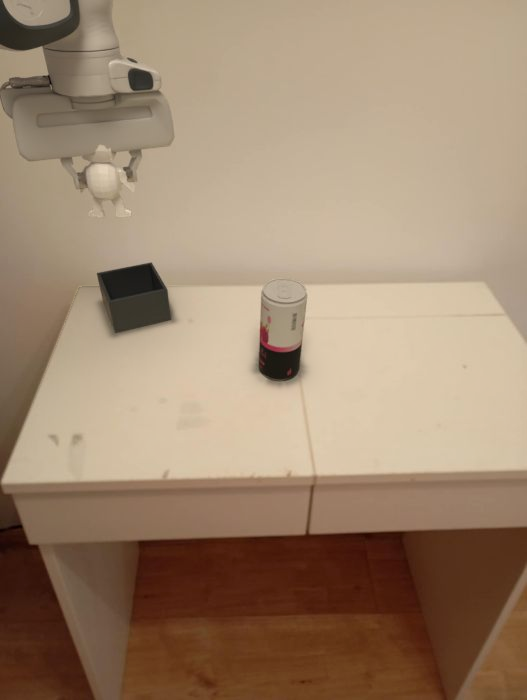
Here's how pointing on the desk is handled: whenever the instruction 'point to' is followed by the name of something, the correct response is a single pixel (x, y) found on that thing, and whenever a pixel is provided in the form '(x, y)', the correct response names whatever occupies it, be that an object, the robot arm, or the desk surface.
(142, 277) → the dark grey hollow box
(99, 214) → the figurine
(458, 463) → the desk surface
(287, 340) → the beverage can
